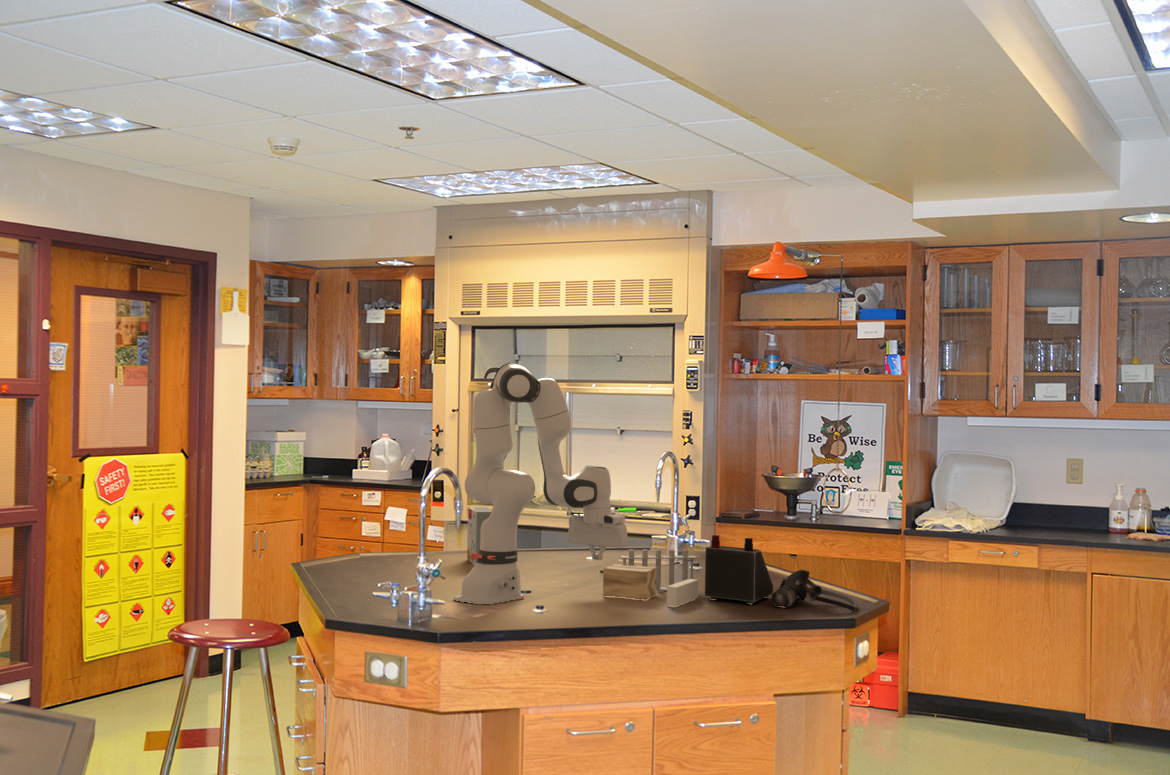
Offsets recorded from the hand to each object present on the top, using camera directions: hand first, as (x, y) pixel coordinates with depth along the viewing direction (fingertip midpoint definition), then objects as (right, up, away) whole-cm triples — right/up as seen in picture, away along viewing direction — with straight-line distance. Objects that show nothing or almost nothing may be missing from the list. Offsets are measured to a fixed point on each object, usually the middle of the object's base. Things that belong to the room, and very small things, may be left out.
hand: (597, 559), depth 327 cm
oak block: (+10, -11, -7) cm, 16 cm away
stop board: (+26, -11, -16) cm, 32 cm away
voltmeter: (+44, -11, -8) cm, 46 cm away
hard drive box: (-43, -11, +54) cm, 70 cm away
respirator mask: (+66, -12, -17) cm, 69 cm away
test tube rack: (+20, -11, +5) cm, 23 cm away
